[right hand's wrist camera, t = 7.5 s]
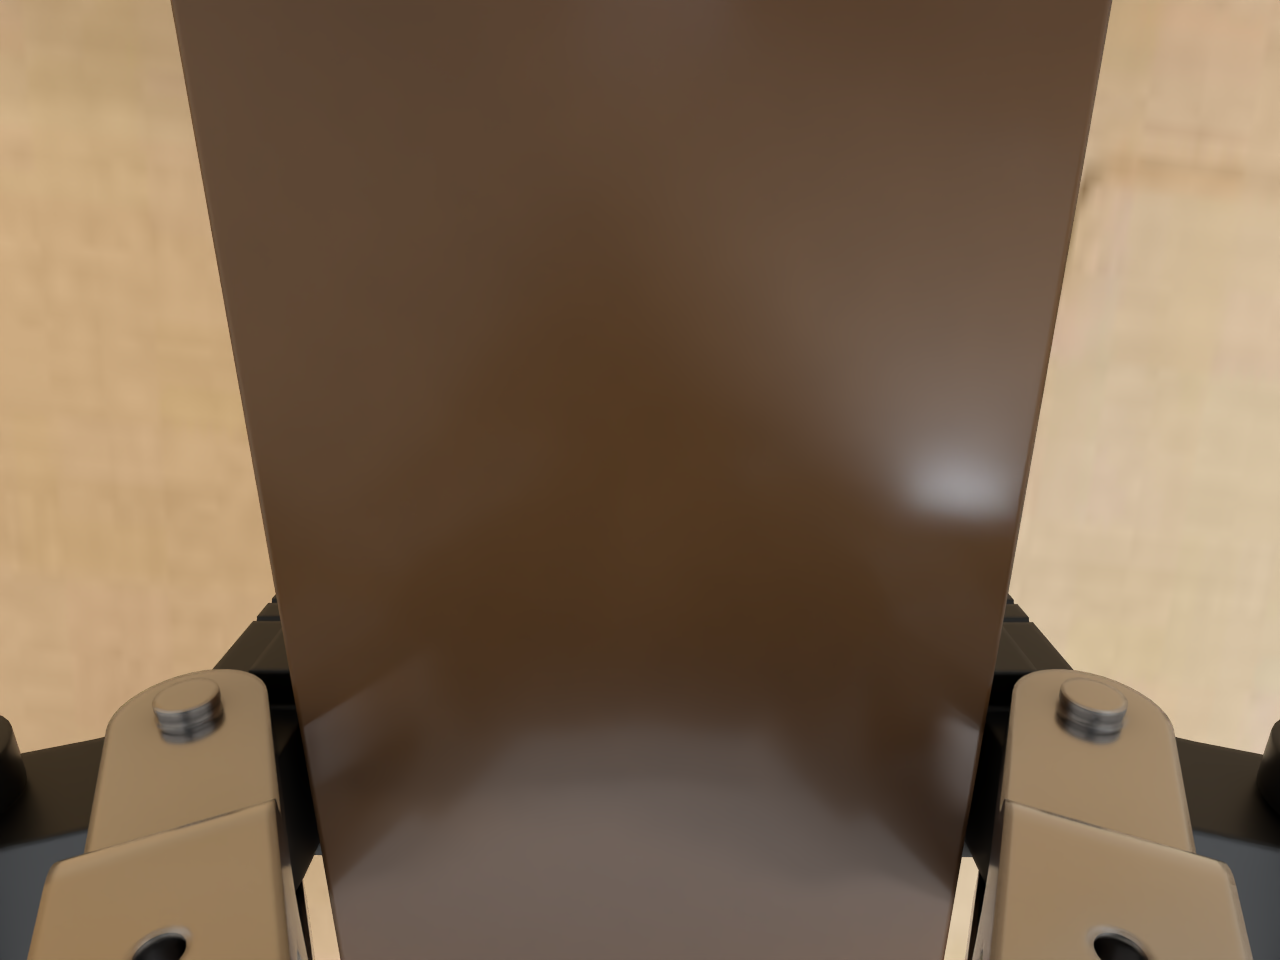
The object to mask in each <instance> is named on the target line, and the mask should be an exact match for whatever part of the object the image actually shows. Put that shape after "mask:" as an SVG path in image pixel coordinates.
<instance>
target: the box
mask: <svg viewBox="0 0 1280 960" xmlns="http://www.w3.org/2000/svg"><path fill="white" fill-rule="evenodd" d="M1111 4H1112V0H171V5H172V11H173V17H174V22H175V28H176V33H177V39H178V45H179V50H180V56H181V62H182V67H183V73H184V79H185V84H186V90H187V96H188V101H189V107H190V112H191V118H192V124H193V129H194V135H195V141H196V146H197V152H198V158H199V163H200V169H201V174H202V180H203V186H204V191H205V197H206V203H207V208H208V214H209V220H210V225H211V231H212V237H213V242H214V248H215V253H216V259H217V265H218V270H219V276H220V282H221V287H222V293H223V299H224V304H225V310H226V316H227V321H228V327H229V332H230V338H231V344H232V349H233V355H234V361H235V366H236V372H237V378H238V383H239V389H240V395H241V400H242V406H243V411H244V417H245V423H246V428H247V434H248V440H249V445H250V451H251V457H252V462H253V468H254V474H255V479H256V485H257V490H258V496H259V502H260V507H261V513H262V519H263V524H264V530H265V536H266V541H267V547H268V552H269V558H270V564H271V569H272V575H273V581H274V586H275V592H276V598H277V603H278V609H279V615H280V620H281V626H282V631H283V637H284V643H285V648H286V654H287V660H288V665H289V671H290V677H291V682H292V688H293V694H294V699H295V705H296V710H297V716H298V722H299V727H300V733H301V739H302V744H303V750H304V756H305V761H306V767H307V773H308V778H309V784H310V789H311V795H312V801H313V806H314V812H315V818H316V823H317V829H318V835H319V840H320V846H321V852H322V857H323V863H324V868H325V874H326V880H327V885H328V891H329V897H330V902H331V908H332V914H333V919H334V925H335V930H336V936H337V942H338V947H339V953H340V959H341V960H944V955H945V949H946V944H947V938H948V932H949V927H950V921H951V915H952V910H953V904H954V898H955V892H956V887H957V881H958V875H959V870H960V864H961V858H962V853H963V847H964V841H965V835H966V830H967V824H968V818H969V813H970V807H971V801H972V796H973V790H974V784H975V779H976V773H977V767H978V761H979V756H980V750H981V744H982V739H983V733H984V727H985V722H986V716H987V710H988V705H989V699H990V693H991V687H992V682H993V676H994V670H995V665H996V659H997V653H998V648H999V642H1000V636H1001V631H1002V625H1003V619H1004V613H1005V608H1006V602H1007V596H1008V591H1009V585H1010V579H1011V574H1012V568H1013V562H1014V556H1015V551H1016V545H1017V539H1018V534H1019V528H1020V522H1021V517H1022V511H1023V505H1024V500H1025V494H1026V488H1027V482H1028V477H1029V471H1030V465H1031V460H1032V454H1033V448H1034V443H1035V437H1036V431H1037V426H1038V420H1039V414H1040V408H1041V403H1042V397H1043V391H1044V386H1045V380H1046V374H1047V369H1048V363H1049V357H1050V351H1051V346H1052V340H1053V334H1054V329H1055V323H1056V317H1057V312H1058V306H1059V300H1060V295H1061V289H1062V283H1063V277H1064V272H1065V266H1066V260H1067V255H1068V249H1069V243H1070V238H1071V232H1072V226H1073V221H1074V215H1075V209H1076V203H1077V198H1078V192H1079V186H1080V181H1081V175H1082V169H1083V164H1084V158H1085V152H1086V147H1087V141H1088V135H1089V129H1090V124H1091V118H1092V112H1093V107H1094V101H1095V95H1096V90H1097V84H1098V78H1099V72H1100V67H1101V61H1102V55H1103V50H1104V44H1105V38H1106V33H1107V27H1108V21H1109V16H1110V10H1111Z"/></svg>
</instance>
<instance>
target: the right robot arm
mask: <svg viewBox="0 0 1280 960" xmlns="http://www.w3.org/2000/svg"><path fill="white" fill-rule="evenodd" d="M314 855H322V852H321V846H320V840H319V835H318V829H317V823H316V818H315V812H314V806H313V801H312V795H311V789H310V784H309V778H308V773H307V767H306V761H305V756H304V750H303V744H302V739H301V733H300V727H299V722H298V716H297V710H296V705H295V699H294V694H293V688H292V682H291V677H290V671H289V665H288V660H287V654H286V648H285V643H284V637H283V631H282V626H281V620H280V615H279V609H278V603H277V598H276V595H275V596H274V597H273V598H272V603H268V604H267V605H266V607H265V608H264V609H263V610H262V611H261V612H260V614H259V615H258V616H257V621H253V622H252V623H251V624H250V626H249V627H248V628H247V629H246V630H245V631H244V633H243V634H242V635H241V636H240V637H239V639H238V640H237V641H236V642H235V643H234V644H233V646H232V647H231V648H230V649H229V650H228V652H227V653H226V654H225V655H224V656H223V658H222V659H221V660H220V661H219V662H218V663H217V665H216V666H215V667H214V668H213V669H212V670H204V671H198V672H193V673H189V674H185V675H181V676H177V677H174V678H172V679H169V680H166V681H163V682H161V683H159V684H156V685H154V686H152V687H150V688H148V689H146V690H144V691H142V692H141V693H139V694H138V695H136V696H134V697H133V698H131V699H130V700H129V701H127V702H126V703H125V704H124V705H123V706H121V707H120V708H119V710H118V711H117V712H116V713H115V714H114V715H113V717H112V718H111V720H110V721H109V723H108V726H107V729H106V734H105V737H103V738H98V739H94V740H89V741H84V742H78V743H73V744H68V745H63V746H58V747H53V748H47V749H42V750H37V751H32V752H27V753H22V754H20V750H19V747H18V744H17V741H16V738H15V735H14V732H13V729H12V726H11V724H10V723H9V721H8V720H7V719H5V718H4V717H3V716H0V960H315V956H314V949H313V941H312V934H311V926H310V918H309V911H308V903H307V897H306V892H305V887H304V881H303V878H304V876H305V873H306V871H307V869H308V867H309V865H310V863H311V861H312V859H313V856H314ZM962 857H973V859H974V861H975V863H976V865H977V867H978V870H979V871H978V876H977V882H976V887H975V892H974V897H973V904H972V911H971V919H970V926H969V934H968V941H967V949H966V956H965V960H1280V720H1279V721H1277V722H1276V723H1275V724H1274V726H1273V728H1272V730H1271V733H1270V736H1269V739H1268V742H1267V745H1266V748H1265V751H1264V754H1263V755H1261V754H1256V753H1251V752H1246V751H1241V750H1236V749H1230V748H1225V747H1220V746H1215V745H1210V744H1205V743H1200V742H1194V741H1190V740H1186V739H1181V738H1177V737H1175V734H1174V729H1173V726H1172V723H1171V721H1170V720H1169V718H1168V717H1167V715H1166V714H1165V713H1164V712H1163V711H1162V709H1161V708H1160V707H1159V706H1157V705H1156V704H1155V703H1154V702H1153V701H1151V700H1150V699H1149V698H1147V697H1146V696H1144V695H1143V694H1141V693H1139V692H1138V691H1136V690H1134V689H1132V688H1130V687H1128V686H1126V685H1124V684H1121V683H1119V682H1117V681H1114V680H1111V679H1108V678H1106V677H1103V676H1099V675H1095V674H1091V673H1087V672H1082V671H1076V670H1073V669H1072V668H1071V667H1070V665H1069V664H1068V663H1067V662H1066V661H1065V659H1064V658H1063V657H1062V656H1061V655H1060V654H1059V652H1058V651H1057V650H1056V649H1055V648H1054V647H1053V645H1052V644H1051V643H1050V642H1049V641H1048V640H1047V638H1046V637H1045V636H1044V635H1043V634H1042V633H1041V631H1040V630H1039V629H1038V628H1037V627H1036V625H1035V624H1034V623H1033V622H1029V617H1028V616H1027V615H1026V614H1025V613H1024V611H1023V610H1022V609H1021V608H1020V607H1019V606H1018V604H1014V600H1013V598H1012V597H1011V596H1010V595H1009V594H1008V596H1007V602H1006V608H1005V613H1004V619H1003V625H1002V631H1001V636H1000V642H999V648H998V653H997V659H996V665H995V670H994V676H993V682H992V687H991V693H990V699H989V705H988V710H987V716H986V722H985V727H984V733H983V739H982V744H981V750H980V756H979V761H978V767H977V773H976V779H975V784H974V790H973V796H972V801H971V807H970V813H969V818H968V824H967V830H966V835H965V841H964V847H963V853H962Z"/></svg>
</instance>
